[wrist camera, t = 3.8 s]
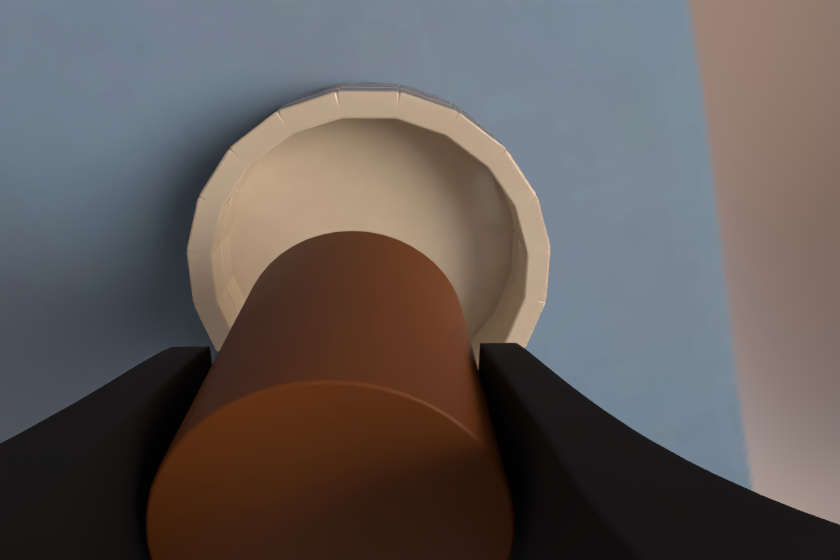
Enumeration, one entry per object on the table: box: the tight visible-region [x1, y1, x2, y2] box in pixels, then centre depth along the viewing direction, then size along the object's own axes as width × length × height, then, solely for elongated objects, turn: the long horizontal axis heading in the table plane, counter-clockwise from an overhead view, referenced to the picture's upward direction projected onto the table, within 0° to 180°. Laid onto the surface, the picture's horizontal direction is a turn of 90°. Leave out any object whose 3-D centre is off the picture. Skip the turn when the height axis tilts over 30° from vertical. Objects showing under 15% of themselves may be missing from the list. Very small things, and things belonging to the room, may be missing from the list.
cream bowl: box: [187, 83, 551, 370], centre depth 17 cm, size 9×9×2 cm
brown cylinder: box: [145, 231, 515, 560], centre depth 10 cm, size 4×4×6 cm
